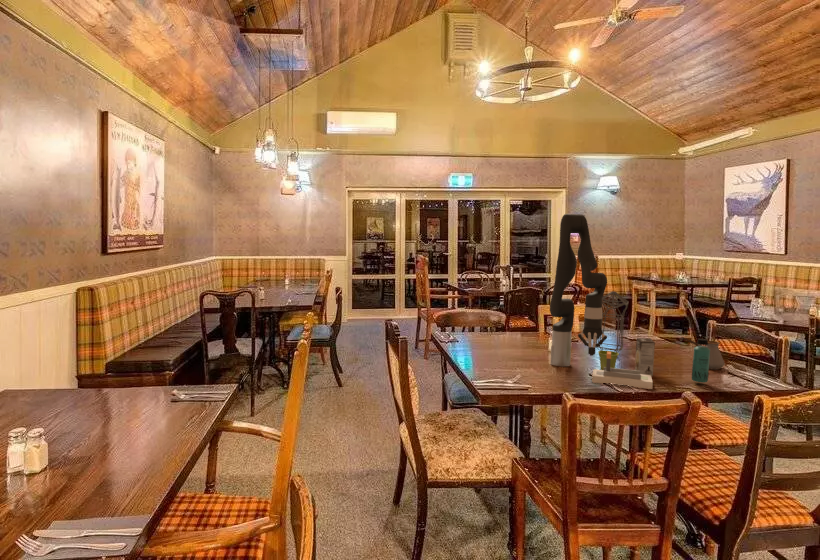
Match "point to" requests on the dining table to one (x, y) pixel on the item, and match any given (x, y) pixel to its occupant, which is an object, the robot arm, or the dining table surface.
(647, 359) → the coffee box
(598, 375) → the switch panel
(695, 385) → the dining table surface
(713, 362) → the coffee pot
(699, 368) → the beverage bottle
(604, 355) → the plant pot
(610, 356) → the handle
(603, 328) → the geometric lantern
